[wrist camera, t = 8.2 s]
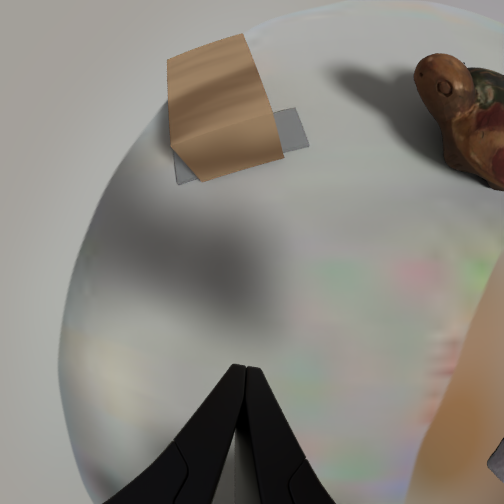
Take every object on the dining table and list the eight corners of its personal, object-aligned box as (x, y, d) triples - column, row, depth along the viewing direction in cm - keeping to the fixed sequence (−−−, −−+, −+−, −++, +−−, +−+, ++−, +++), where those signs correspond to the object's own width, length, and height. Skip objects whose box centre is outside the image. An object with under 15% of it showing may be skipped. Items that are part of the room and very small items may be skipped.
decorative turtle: (390, 83, 19) (414, 12, 11) (521, 138, 17) (563, 96, 9) (392, 182, 17) (440, 113, 10) (535, 231, 15) (596, 203, 7)
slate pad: (309, 146, 19) (309, 144, 19) (179, 185, 21) (177, 183, 21) (295, 109, 20) (295, 107, 20) (174, 147, 22) (172, 145, 21)
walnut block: (273, 112, 14) (242, 33, 17) (170, 146, 15) (166, 59, 18) (284, 157, 19) (256, 76, 21) (202, 182, 20) (190, 97, 22)
